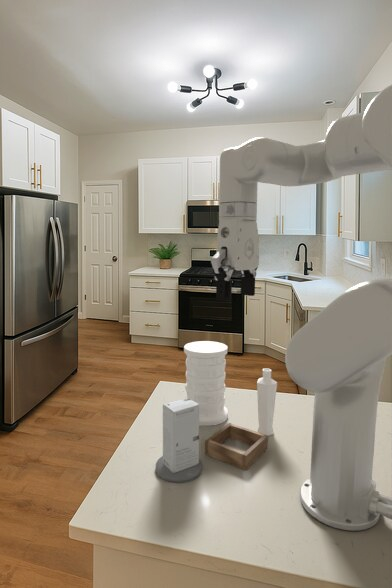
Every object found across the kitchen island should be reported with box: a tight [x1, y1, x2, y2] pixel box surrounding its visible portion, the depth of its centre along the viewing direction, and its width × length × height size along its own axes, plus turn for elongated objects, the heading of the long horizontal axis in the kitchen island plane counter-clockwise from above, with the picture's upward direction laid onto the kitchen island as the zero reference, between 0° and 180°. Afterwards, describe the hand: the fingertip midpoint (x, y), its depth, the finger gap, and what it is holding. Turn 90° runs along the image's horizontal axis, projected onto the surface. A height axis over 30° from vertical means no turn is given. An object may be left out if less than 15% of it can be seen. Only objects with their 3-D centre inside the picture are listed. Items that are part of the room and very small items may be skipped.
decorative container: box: [183, 340, 229, 427], centre depth 96 cm, size 12×12×18 cm
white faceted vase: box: [256, 368, 278, 437], centre depth 87 cm, size 5×4×15 cm
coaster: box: [155, 455, 203, 484], centre depth 74 cm, size 9×9×1 cm
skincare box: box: [162, 398, 200, 473], centre depth 73 cm, size 6×4×12 cm
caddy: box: [204, 422, 269, 471], centre depth 80 cm, size 10×10×3 cm
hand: (236, 297), depth 78 cm, fingers open, 9 cm apart
